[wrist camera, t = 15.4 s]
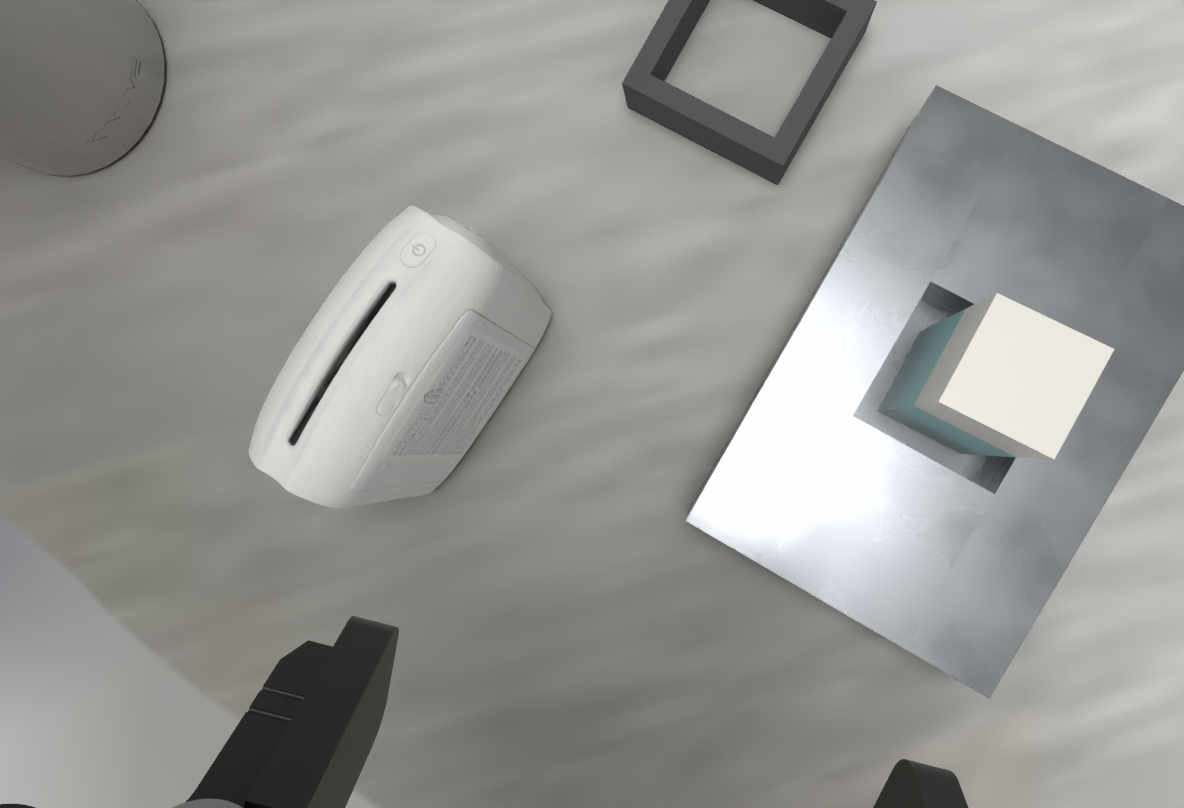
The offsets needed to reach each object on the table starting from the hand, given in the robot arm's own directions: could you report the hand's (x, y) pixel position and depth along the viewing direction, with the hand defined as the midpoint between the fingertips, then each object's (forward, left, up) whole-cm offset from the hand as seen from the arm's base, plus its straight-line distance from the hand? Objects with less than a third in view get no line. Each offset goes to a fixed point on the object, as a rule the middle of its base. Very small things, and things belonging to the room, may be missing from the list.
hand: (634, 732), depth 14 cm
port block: (+6, +11, -22) cm, 25 cm away
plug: (+6, +11, -21) cm, 24 cm away
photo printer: (-11, +2, -22) cm, 25 cm away
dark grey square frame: (-7, +19, -22) cm, 30 cm away
